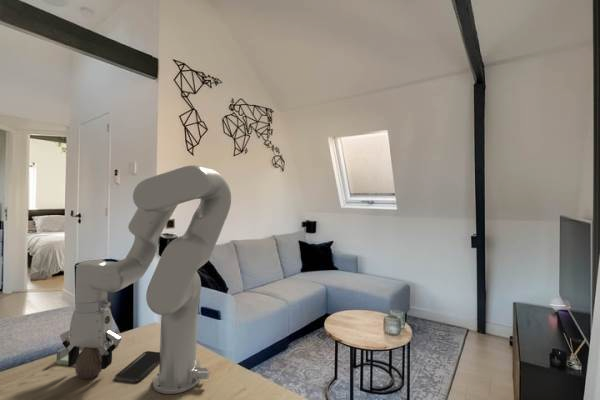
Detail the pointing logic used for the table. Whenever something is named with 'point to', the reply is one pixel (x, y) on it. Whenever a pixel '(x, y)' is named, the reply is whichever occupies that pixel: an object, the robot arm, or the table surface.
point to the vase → (89, 363)
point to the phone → (139, 367)
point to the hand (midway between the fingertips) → (90, 365)
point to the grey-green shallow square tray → (63, 355)
